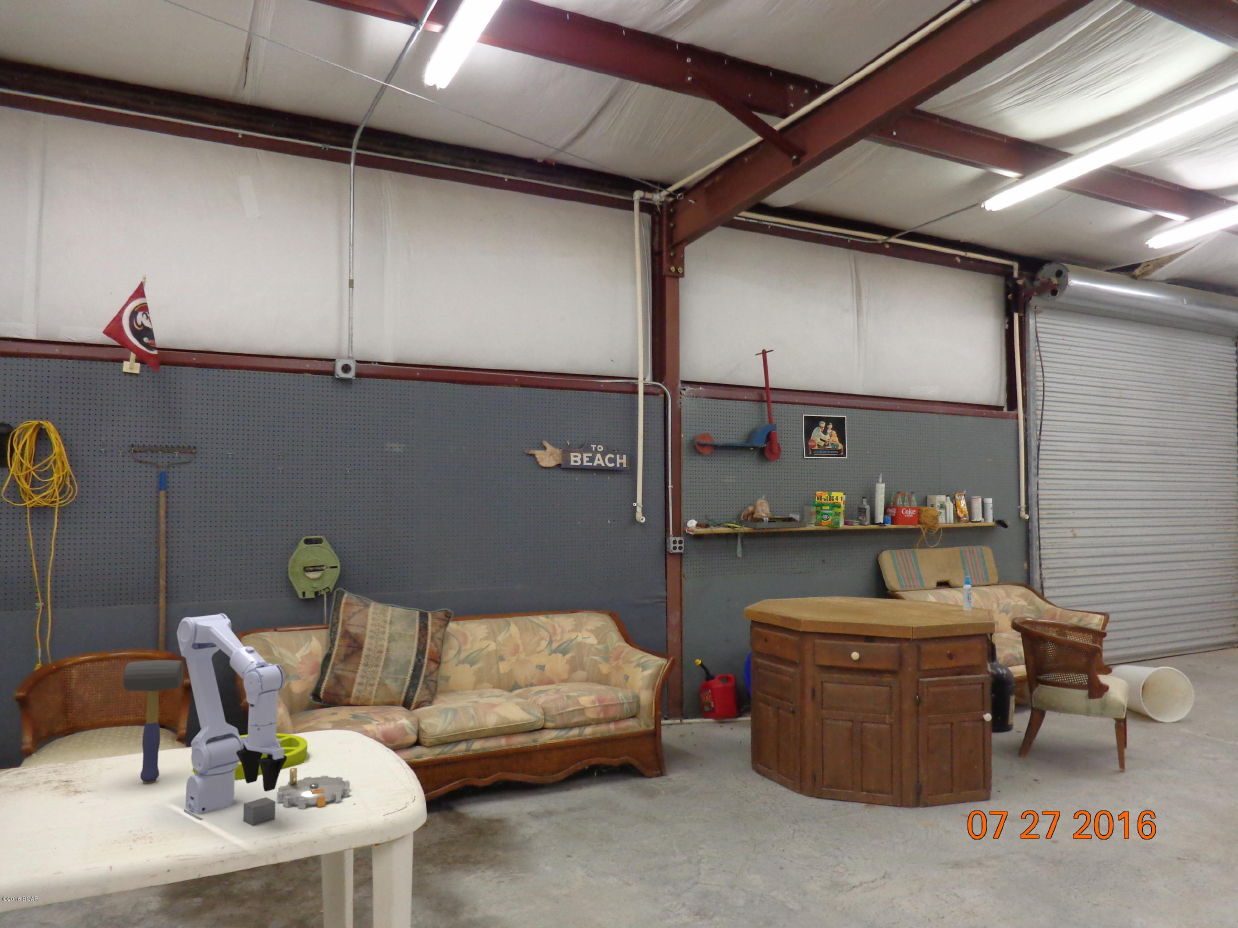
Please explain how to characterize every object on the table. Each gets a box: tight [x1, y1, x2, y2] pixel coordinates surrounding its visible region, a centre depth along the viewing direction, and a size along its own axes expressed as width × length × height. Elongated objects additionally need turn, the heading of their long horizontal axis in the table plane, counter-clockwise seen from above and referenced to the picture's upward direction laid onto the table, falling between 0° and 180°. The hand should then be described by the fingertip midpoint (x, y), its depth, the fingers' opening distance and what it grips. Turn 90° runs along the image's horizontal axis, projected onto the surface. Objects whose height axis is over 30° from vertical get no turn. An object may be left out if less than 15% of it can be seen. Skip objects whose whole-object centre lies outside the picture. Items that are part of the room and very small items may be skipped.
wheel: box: [276, 767, 351, 810], centre depth 191 cm, size 16×16×6 cm
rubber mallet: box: [122, 659, 184, 784], centre depth 202 cm, size 12×8×30 cm, turn 107°
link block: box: [242, 796, 277, 827], centre depth 176 cm, size 5×4×5 cm
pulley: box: [192, 732, 308, 781], centre depth 218 cm, size 28×28×5 cm
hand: (260, 785), depth 176 cm, fingers open, 7 cm apart
